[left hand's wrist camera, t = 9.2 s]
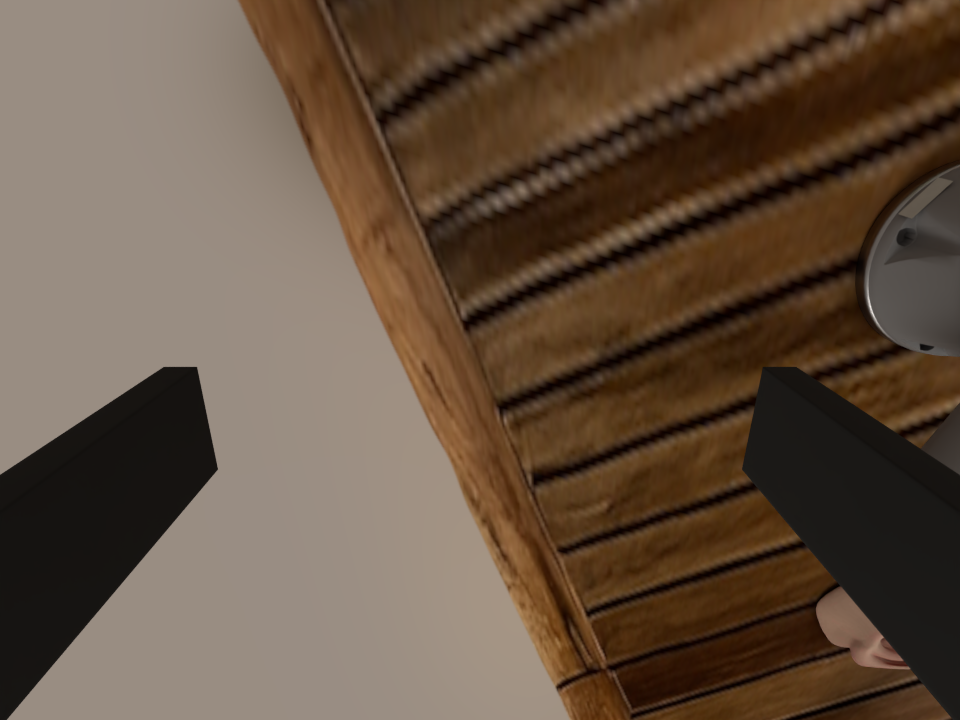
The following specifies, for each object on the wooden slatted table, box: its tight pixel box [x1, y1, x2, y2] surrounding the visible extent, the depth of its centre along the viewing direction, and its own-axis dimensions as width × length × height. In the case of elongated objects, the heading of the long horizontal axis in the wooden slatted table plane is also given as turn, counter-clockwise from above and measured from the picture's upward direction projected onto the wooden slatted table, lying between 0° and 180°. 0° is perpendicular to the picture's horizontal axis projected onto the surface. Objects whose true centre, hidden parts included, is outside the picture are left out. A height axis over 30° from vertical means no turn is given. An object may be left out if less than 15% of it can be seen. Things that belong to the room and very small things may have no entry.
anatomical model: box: [816, 586, 910, 669], centre depth 54 cm, size 13×4×12 cm
